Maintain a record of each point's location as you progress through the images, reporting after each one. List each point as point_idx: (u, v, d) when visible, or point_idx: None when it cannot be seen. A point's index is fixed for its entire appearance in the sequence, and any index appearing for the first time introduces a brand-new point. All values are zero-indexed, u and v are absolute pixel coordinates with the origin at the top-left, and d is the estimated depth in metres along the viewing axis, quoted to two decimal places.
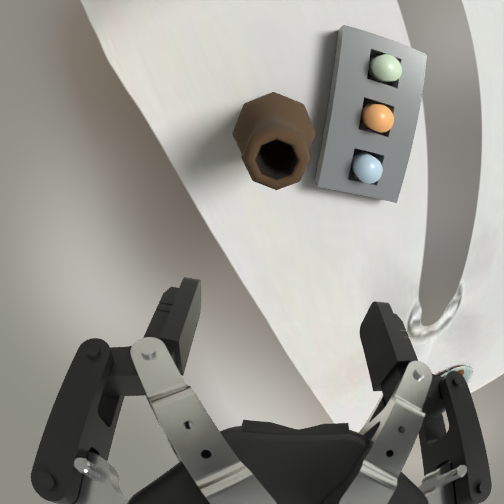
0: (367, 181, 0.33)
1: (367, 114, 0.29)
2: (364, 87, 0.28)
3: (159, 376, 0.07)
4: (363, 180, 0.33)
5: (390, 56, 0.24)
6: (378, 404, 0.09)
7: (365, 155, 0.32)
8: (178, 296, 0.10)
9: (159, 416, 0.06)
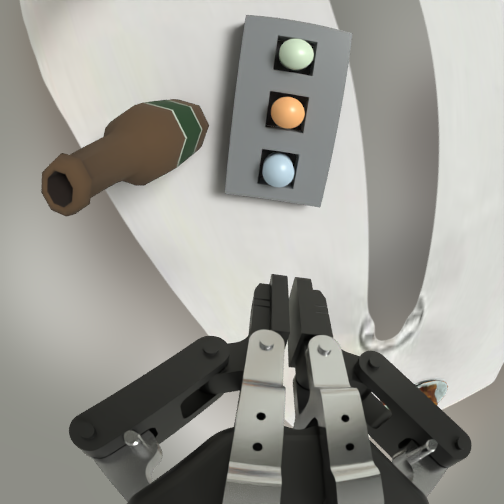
0: (276, 185, 0.32)
1: (271, 110, 0.27)
2: (270, 79, 0.26)
3: (263, 367, 0.08)
4: (271, 184, 0.31)
5: (297, 40, 0.22)
6: (296, 391, 0.10)
7: (274, 156, 0.31)
8: (274, 291, 0.11)
9: (241, 397, 0.07)
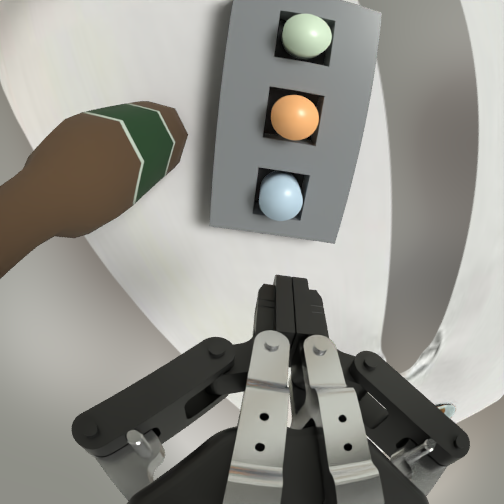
0: (278, 218, 0.24)
1: (271, 113, 0.19)
2: (269, 71, 0.18)
3: (268, 367, 0.08)
4: (271, 216, 0.24)
5: (309, 16, 0.14)
6: (292, 391, 0.10)
7: (275, 177, 0.23)
8: (278, 292, 0.11)
9: (245, 397, 0.07)
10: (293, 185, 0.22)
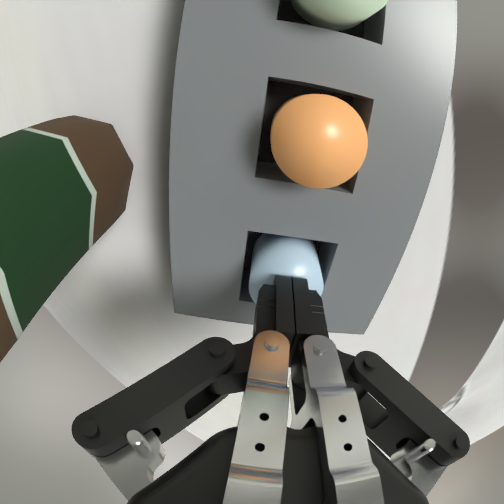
0: None
1: (271, 133, 0.09)
2: (268, 46, 0.09)
3: (268, 367, 0.08)
4: None
5: None
6: (292, 391, 0.10)
7: (277, 247, 0.13)
8: (278, 292, 0.11)
9: (245, 397, 0.07)
10: (309, 264, 0.12)
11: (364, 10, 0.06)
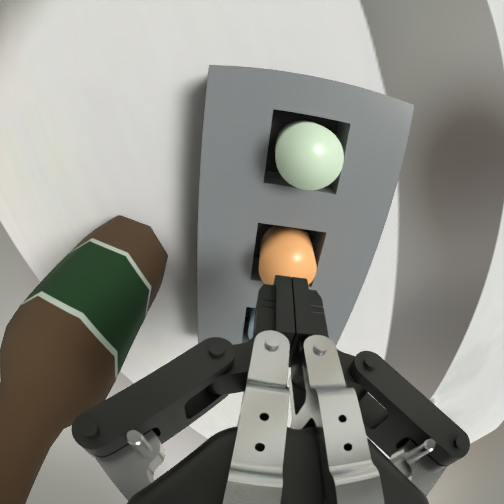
0: None
1: None
2: (258, 202, 0.17)
3: (268, 367, 0.08)
4: None
5: (313, 128, 0.13)
6: (292, 391, 0.10)
7: None
8: (278, 292, 0.11)
9: (245, 397, 0.07)
10: None
11: (321, 185, 0.14)
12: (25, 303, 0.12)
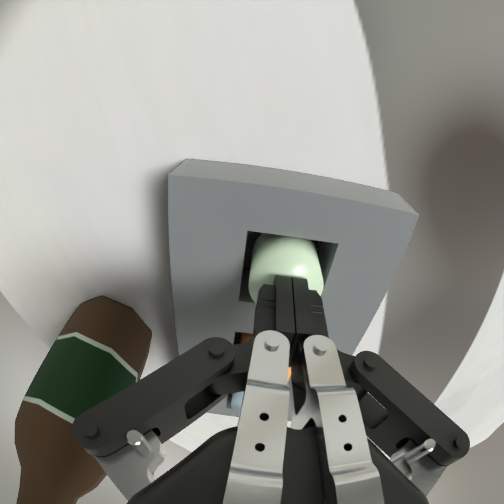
0: None
1: None
2: (234, 316, 0.16)
3: (268, 367, 0.08)
4: None
5: (291, 261, 0.12)
6: (292, 391, 0.10)
7: None
8: (278, 292, 0.11)
9: (245, 397, 0.07)
10: None
11: None
12: (27, 403, 0.11)
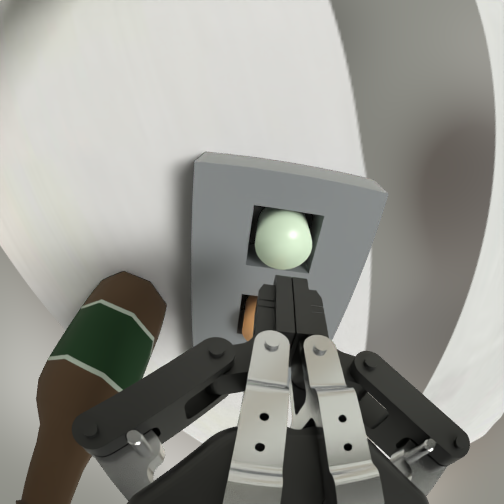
0: None
1: (242, 328, 0.20)
2: (241, 279, 0.20)
3: (268, 367, 0.08)
4: None
5: (287, 223, 0.17)
6: (292, 391, 0.10)
7: None
8: (278, 292, 0.11)
9: (245, 397, 0.07)
10: None
11: (292, 265, 0.18)
12: (52, 361, 0.15)
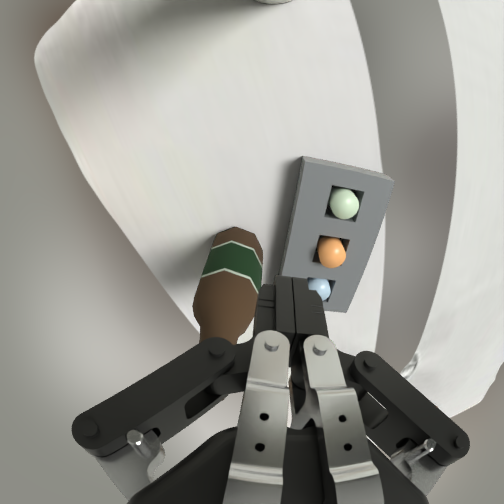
0: None
1: (319, 254, 0.36)
2: (320, 225, 0.35)
3: (268, 367, 0.08)
4: None
5: (347, 194, 0.32)
6: (292, 391, 0.10)
7: (316, 279, 0.41)
8: (278, 292, 0.11)
9: (245, 397, 0.07)
10: (326, 285, 0.40)
11: (348, 217, 0.34)
12: (209, 275, 0.31)
